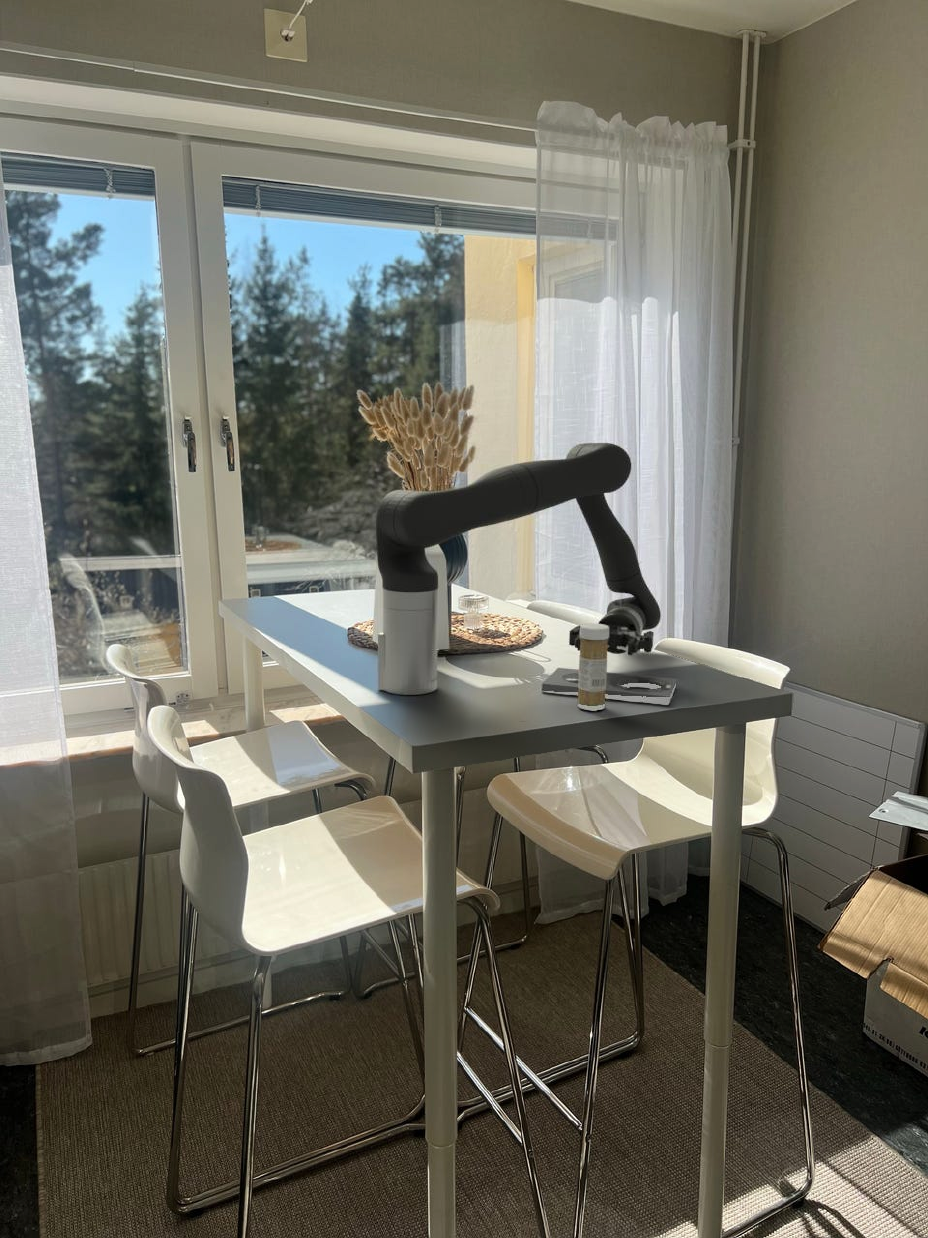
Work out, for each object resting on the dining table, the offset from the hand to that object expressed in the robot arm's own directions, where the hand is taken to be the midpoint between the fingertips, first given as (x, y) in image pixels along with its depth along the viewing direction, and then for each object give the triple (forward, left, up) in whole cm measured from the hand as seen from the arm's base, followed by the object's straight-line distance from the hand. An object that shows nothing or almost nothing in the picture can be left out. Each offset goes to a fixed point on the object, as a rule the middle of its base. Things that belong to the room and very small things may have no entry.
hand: (604, 647), depth 153 cm
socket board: (+1, +2, -8) cm, 8 cm away
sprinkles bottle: (0, -10, -8) cm, 13 cm away
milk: (-43, +20, -8) cm, 48 cm away
